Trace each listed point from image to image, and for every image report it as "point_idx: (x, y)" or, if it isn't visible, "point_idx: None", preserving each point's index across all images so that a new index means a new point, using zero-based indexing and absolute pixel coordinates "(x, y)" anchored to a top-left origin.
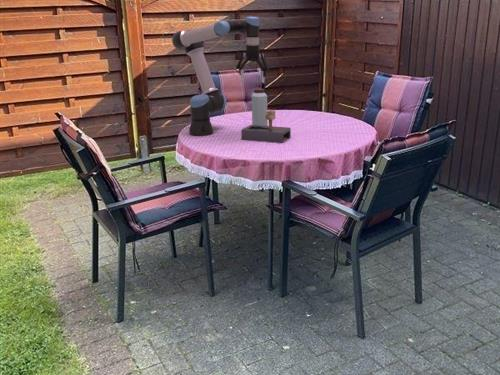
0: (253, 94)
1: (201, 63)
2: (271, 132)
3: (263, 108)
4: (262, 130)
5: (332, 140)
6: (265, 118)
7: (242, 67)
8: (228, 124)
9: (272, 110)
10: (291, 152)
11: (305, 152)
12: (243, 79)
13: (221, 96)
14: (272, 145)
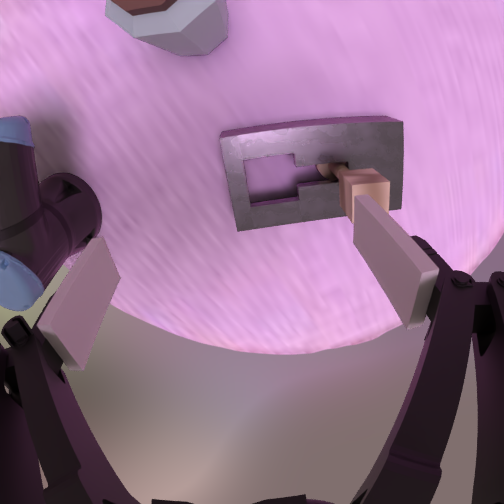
0: (126, 21)
1: None
2: None
3: (219, 21)
4: (321, 205)
5: (490, 116)
6: (341, 207)
7: (66, 388)
8: (52, 59)
9: (379, 193)
10: None
11: (452, 248)
12: (100, 246)
13: None
14: None
